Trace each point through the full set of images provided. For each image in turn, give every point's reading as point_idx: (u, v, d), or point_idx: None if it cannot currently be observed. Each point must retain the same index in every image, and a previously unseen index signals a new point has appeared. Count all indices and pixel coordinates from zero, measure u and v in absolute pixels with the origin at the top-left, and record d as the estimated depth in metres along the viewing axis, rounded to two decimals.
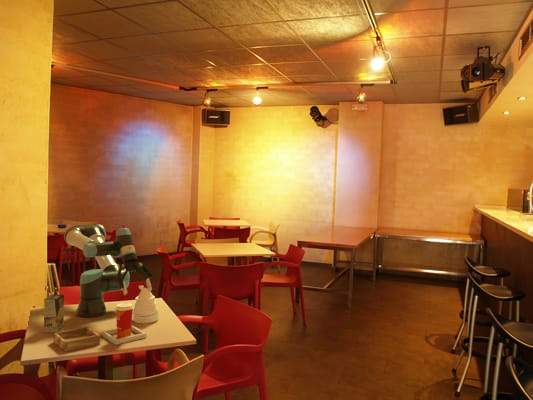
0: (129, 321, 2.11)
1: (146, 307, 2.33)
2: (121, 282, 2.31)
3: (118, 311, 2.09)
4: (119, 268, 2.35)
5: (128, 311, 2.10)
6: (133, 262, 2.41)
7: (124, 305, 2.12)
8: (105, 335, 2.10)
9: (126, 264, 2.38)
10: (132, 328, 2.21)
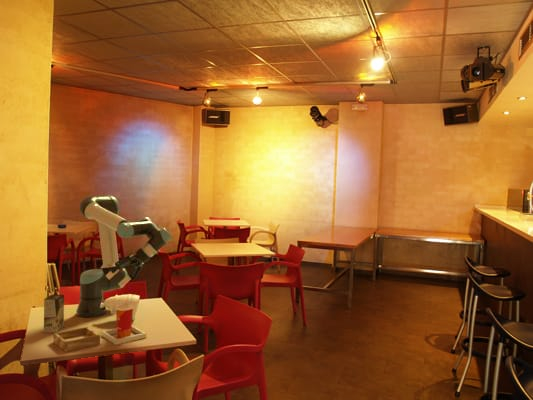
0: (129, 321, 2.11)
1: None
2: (116, 269, 2.23)
3: (118, 311, 2.09)
4: (129, 258, 2.26)
5: (128, 311, 2.10)
6: (140, 261, 2.33)
7: (124, 305, 2.12)
8: (105, 335, 2.10)
9: (136, 259, 2.29)
10: (132, 328, 2.21)
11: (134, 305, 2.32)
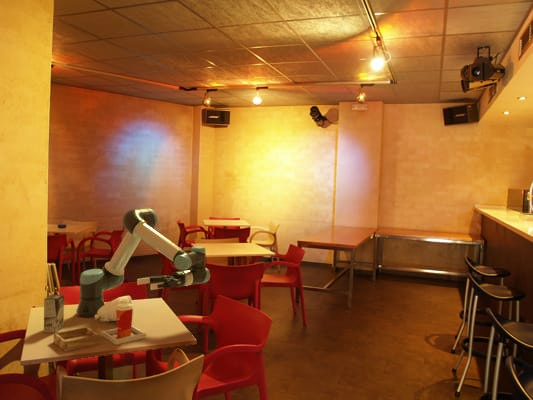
0: (129, 321, 2.11)
1: (113, 314, 2.29)
2: (163, 287, 2.17)
3: (118, 311, 2.09)
4: (177, 284, 2.22)
5: (128, 311, 2.10)
6: None
7: (124, 305, 2.12)
8: (105, 335, 2.10)
9: None
10: (132, 328, 2.21)
11: None
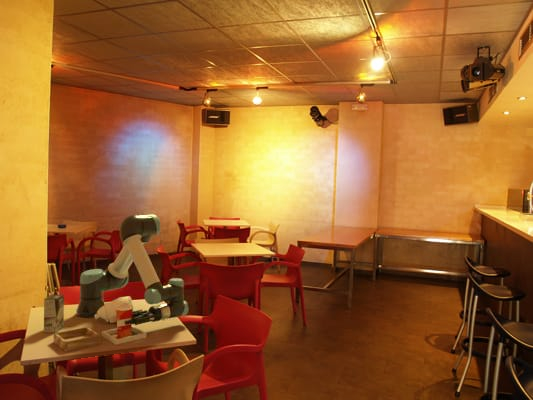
0: None
1: None
2: None
3: (118, 311, 2.09)
4: (148, 320, 2.14)
5: (128, 311, 2.10)
6: None
7: (124, 305, 2.12)
8: (105, 335, 2.10)
9: None
10: (132, 328, 2.21)
11: None
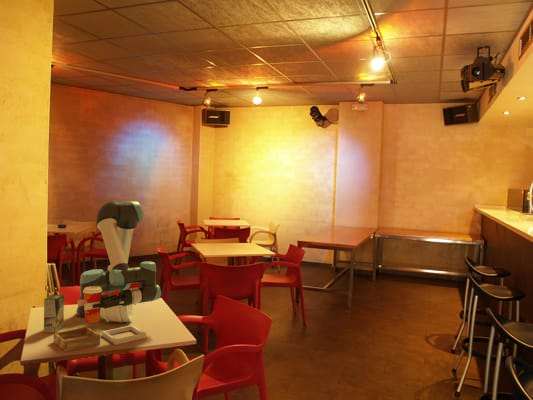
0: None
1: (113, 316, 2.29)
2: (99, 306, 2.01)
3: (86, 294, 2.00)
4: (118, 304, 2.06)
5: (96, 294, 2.01)
6: None
7: (92, 288, 2.03)
8: (105, 335, 2.10)
9: None
10: (132, 328, 2.21)
11: (125, 312, 2.28)
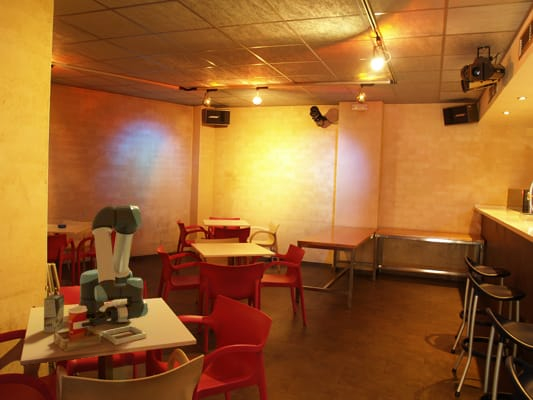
0: None
1: None
2: (88, 325, 1.99)
3: (70, 314, 2.00)
4: (106, 321, 2.04)
5: (81, 314, 2.00)
6: None
7: (77, 307, 2.02)
8: (105, 335, 2.10)
9: None
10: (132, 328, 2.21)
11: None
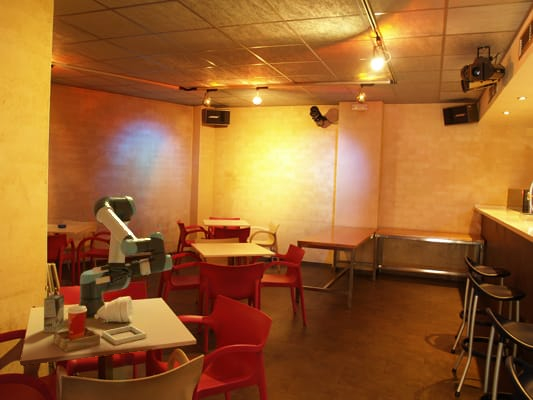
0: (81, 324, 2.01)
1: (113, 316, 2.29)
2: (107, 268, 2.11)
3: (70, 314, 1.99)
4: (124, 266, 2.14)
5: (80, 314, 2.00)
6: (130, 272, 2.22)
7: (77, 308, 2.02)
8: (105, 335, 2.10)
9: (128, 269, 2.18)
10: (132, 328, 2.21)
11: (125, 312, 2.28)
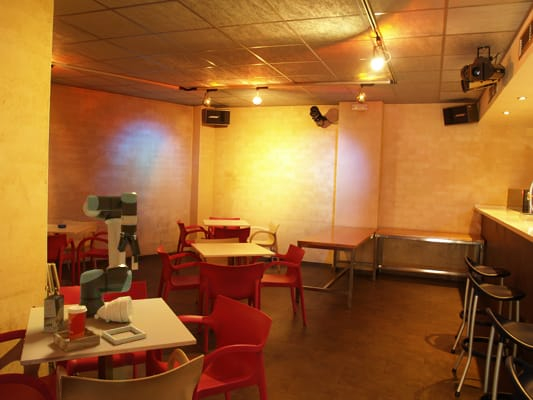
0: (81, 324, 2.01)
1: (113, 316, 2.29)
2: (120, 252, 2.27)
3: (70, 314, 1.99)
4: None
5: (80, 314, 2.00)
6: (127, 234, 2.20)
7: (77, 308, 2.02)
8: (105, 335, 2.10)
9: (123, 235, 2.23)
10: (132, 328, 2.21)
11: (125, 312, 2.28)
